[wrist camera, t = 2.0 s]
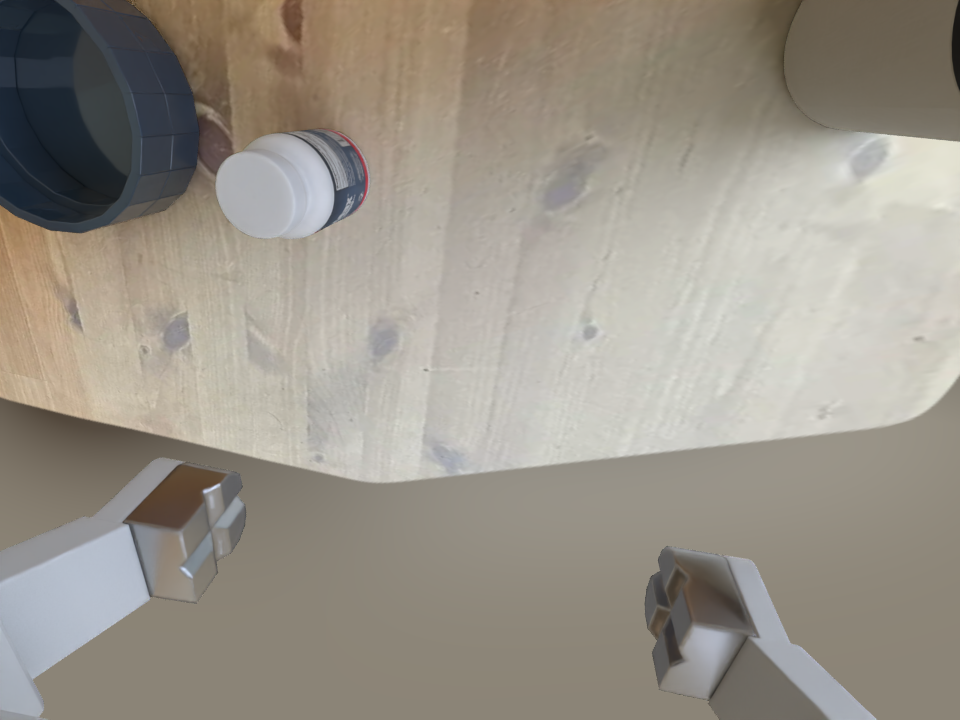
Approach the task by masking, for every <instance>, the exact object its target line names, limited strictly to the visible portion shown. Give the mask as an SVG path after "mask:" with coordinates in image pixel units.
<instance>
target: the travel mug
mask: <svg viewBox="0 0 960 720" xmlns="http://www.w3.org/2000/svg"><path fill="white" fill-rule="evenodd" d="M784 73H785V79H786V83H787V87H788V90H789V93H790V95H791V97H792V99H793V101H794V102H795V104H796V105H797V106H798V108H799V109H800V110H801V111H802V112H803V113H804V114H805V115H806V116H807V117H809V118H810V119H812V120H813V121H815V122H817V123H819V124H821V125H823V126H826V127H829V128H833V129H838V130H847V131H857V132H867V133H877V134H887V135H897V136H908V137H918V138H928V139H938V140H948V141H958V142H960V0H803V2H802V3H801V5H800V7H799V9H798V11H797V12H796V14H795V17H794V19H793V21H792V24H791V27H790V30H789V33H788V36H787V40H786V45H785V52H784Z"/></svg>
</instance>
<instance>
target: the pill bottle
mask: <svg viewBox="0 0 960 720" xmlns="http://www.w3.org/2000/svg"><path fill="white" fill-rule="evenodd" d="M369 187H370V173H369V168H368V165H367V162H366V159H365V157H364V155H363V153H362V152H361V150H360V149H359V148H358V146H357V145H356V144H355V143H354V142H353V141H352V140H351V139H350V138H348V137H347V136H345V135H344V134H342V133H340V132H337V131H334V130H330V129H312V130H303V131H295V132H283V133H273V134H268V135H264V136H261V137H259V138H257V139H255V140H254V141H252V142H251V143H250V144H249V145H248V146H247V147H245V149H244V150H243V151H242V152H238V153H235V154H233V155H231V156H229V157H228V158H227V159H226V160H225V161H224V162H223V163H222V164H221V166H220V167H219V170H218V172H217V175H216V181H215V190H216V196H217V200H218V203H219V205H220V208H221V210H222V211H223V213H224V215H225V216H226V218H227V219H228V220H229V221H230V222H231V223H232V225H233V226H235V227H236V228H237V229H239V230H240V231H241V232H243V233H245V234H247V235H249V236H251V237H255V238H260V239H269V238H274V237H281V238H285V239H299V238H304V237H307V236H310V235H312V234H314V233H316V232H318V231H320V230H322V229H324V228H325V227H328V226H329V225H332V224H333V223H335V222H337V221H340V220H342V219H344V218H346V217H348V216H350V215H351V214H353V213H354V212H356V211H357V210H358V209H359V208H360V207H361V206H362V205H363V203H364V201H365V200H366V198H367V195H368V192H369Z"/></svg>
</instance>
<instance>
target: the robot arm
mask: <svg viewBox="0 0 960 720" xmlns="http://www.w3.org/2000/svg"><path fill="white" fill-rule="evenodd" d="M241 489H242V481H241V476H240V474H239V473H237V472H234V471H230V470H226V469H221V468H215V467H211V466H205V465H201V464H196V463H190V462H182V461H178V460H172V459H168V458H163V457H161V458H158V459H156V460H153V461H151V462H150V463H149V464H148V465H147V466H146V467H145V468H144V469H143V470H142V471H141V472H140V473H139V474H138V475H136V476H135V477H134V478H133V479H132V480H131V481H130V482H129V483H128V484H127V485H126V486H125V487H124V488H123V489H122V490H120V491H119V492H118V493H117V494H116V495H115V496H114V497H113V498H112V499H111V500H110V501H109V502H108V503H107V504H106V505H104V506H103V507H102V508H101V509H100V510H99V511H98V512H97V513H96V514H95V515H94V516H93V517H92V518H90V517H84V516H83V517H81V518H78V519H76V520H74V521H71V522H69V523H66V524H64V525H62V526H59V527H57V528H55V529H52V530H50V531H47V532H45V533H42V534H40V535H38V536H35V537H33V538H30V539H28V540H26V541H23V542H21V543H18V544H16V545H14V546H12V547H9V548H7V549H4V550H2V551H0V720H49V719H44V718H39V716H40V714H41V713H42V712H43V710H44V701H43V699H42V697H41V695H40V693H39V691H38V689H37V688H36V686H35V684H34V682H33V680H32V679H34V678H35V677H37V676H38V675H40V674H41V673H43V672H44V671H45V670H47V669H48V668H50V667H51V666H53V665H54V664H56V663H57V662H59V661H60V660H61V659H63V658H65V657H66V656H68V655H69V654H70V653H72V652H73V651H75V650H76V649H78V648H79V647H81V646H82V645H84V644H85V643H87V642H88V641H90V640H91V639H93V638H94V637H95V636H97V635H98V634H100V633H102V632H103V631H105V630H106V629H107V628H109V627H110V626H112V625H113V624H115V623H116V622H118V621H119V620H121V619H122V618H124V617H125V616H127V615H128V614H130V613H131V612H133V611H134V610H136V609H137V608H138V607H140V606H141V605H143V604H144V603H146V602H147V601H149V600H150V597H156V598H162V599H169V600H175V601H181V602H188V603H194V604H197V602H198V601H199V600H200V598H201V597H202V595H203V594H204V592H205V591H206V589H207V588H208V586H209V585H210V583H211V582H212V581H213V579H214V578H215V576H216V575H217V573H218V571H217V561H218V560H220V559H222V558H224V557H225V556H227V555H229V554H231V552H232V551H233V549H234V548H235V546H236V545H237V543H238V542H239V540H240V537H241V534H242V532H243V529H244V527H245V520H246V508H245V504H244V503H243V502H242V500H241V499H240V498H239V497H238V496H237V494H238V493H239V491H240V490H241ZM658 563H659V567H660V571H659V572H657V573H656V574H654V575H652V576H651V578H650V581H649V583H648V586H647V589H646V597H645V616H646V622H647V628H648V630H649V631H650V632H651V633H652V635H653V636H654V637H655V638H656V640H657V643H656V645H655V647H654V649H653V652H652V654H653V660H654V665H655V670H656V676H657V681H658V686H659V690H661V691H666V692H671V693H675V694H679V695H684V696H689V697H693V698H698V699H703V700H707V701H709V705H710V706H711V708H712V709H713V711H714V713H715V714H716V715H717V717H718V718H719V720H877V719H876V718H875V717H874V716H873V715H871V714H870V713H869V712H868V711H867V710H866V709H865V708H864V707H863V706H862V705H861V704H860V703H859V702H858V701H857V700H856V699H855V698H853V696H851V694H850V693H848V692H847V691H846V690H845V689H844V688H843V687H842V686H841V685H840V684H839V683H838V682H837V681H836V680H835V679H834V678H832V676H830V674H829V673H828V672H826V670H824V669H823V668H822V667H821V666H820V665H819V664H818V663H817V662H816V661H815V660H814V659H813V658H812V657H811V656H810V655H809V654H808V653H807V652H806V651H805V650H804V649H803V648H801V647H800V646H799V645H794V644H790V642H789V639H788V637H787V635H786V633H785V630H784V628H783V626H782V624H781V622H780V619H779V617H778V615H777V612H776V610H775V608H774V606H773V603H772V601H771V599H770V597H769V595H768V592H767V590H766V588H765V585H764V583H763V581H762V579H761V576H760V574H759V572H758V570H757V568H756V565H755V564H754V563H753V562H752V561H751V560H749V559H743V558H738V557H731V556H725V555H718V554H712V553H707V552H701V551H695V550H689V549H682V548H676V547H670V546H666V547H665V548H664V549H663V550H662V551H661V554H660V556H659V558H658Z"/></svg>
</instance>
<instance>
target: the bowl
mask: <svg viewBox="0 0 960 720" xmlns="http://www.w3.org/2000/svg"><path fill="white" fill-rule="evenodd" d="M192 94H193V93H192V91H191V89H190V86H189V84H188V82H187V79H186V77H185V75H184V73H183V70H182V68H181V66H180V64H179V61H178V59H177V57H176V55H174V52H173V51H172V50H171V48H170V47H169V46H168V44H167V43H166V42H165V40H164V39H163V38H162V36H161V35H160V34H159V32H158V31H157V30H156V28H155V27H154V26H153V24H152V23H151V21H150V20H148V18H147V17H146V16H145V15H143V14H142V13H141V12H140V11H138V10H137V9H136V8H135V7H134V6H132V5H131V4H130V3H129V2H128V1H126V0H0V205H1V206H2V207H4V208H5V209H7V210H8V211H9V212H11V213H12V214H14V215H15V216H17V217H19V218H21V219H24V220H26V221H29V222H31V223H33V224H36V225H38V226H41V227H43V228H45V229H48V230H51V231H61V232H72V233H85V232H88V231H92V230H96V229H100V228H103V227H107V226H111V225H115V224H119V223H122V222H126V221H130V220H134V219H137V218H141V217H145V216H148V215H151V214H154V213H158V212H161V211H164V210H166V209H167V208H168V207H169V206H170V205H171V204H173V203H174V202H175V201H176V200H177V199H178V198H179V197H180V196H182V195H183V194H184V192H185V191H186V189H187V186H188V184H189V182H190V180H191V178H192V175H193V173H194V171H195V169H196V165H197V157H198V146H199V135H200V133H199V126H198V120H197V115H196V109H195V104H194V98H193V95H192Z"/></svg>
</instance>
